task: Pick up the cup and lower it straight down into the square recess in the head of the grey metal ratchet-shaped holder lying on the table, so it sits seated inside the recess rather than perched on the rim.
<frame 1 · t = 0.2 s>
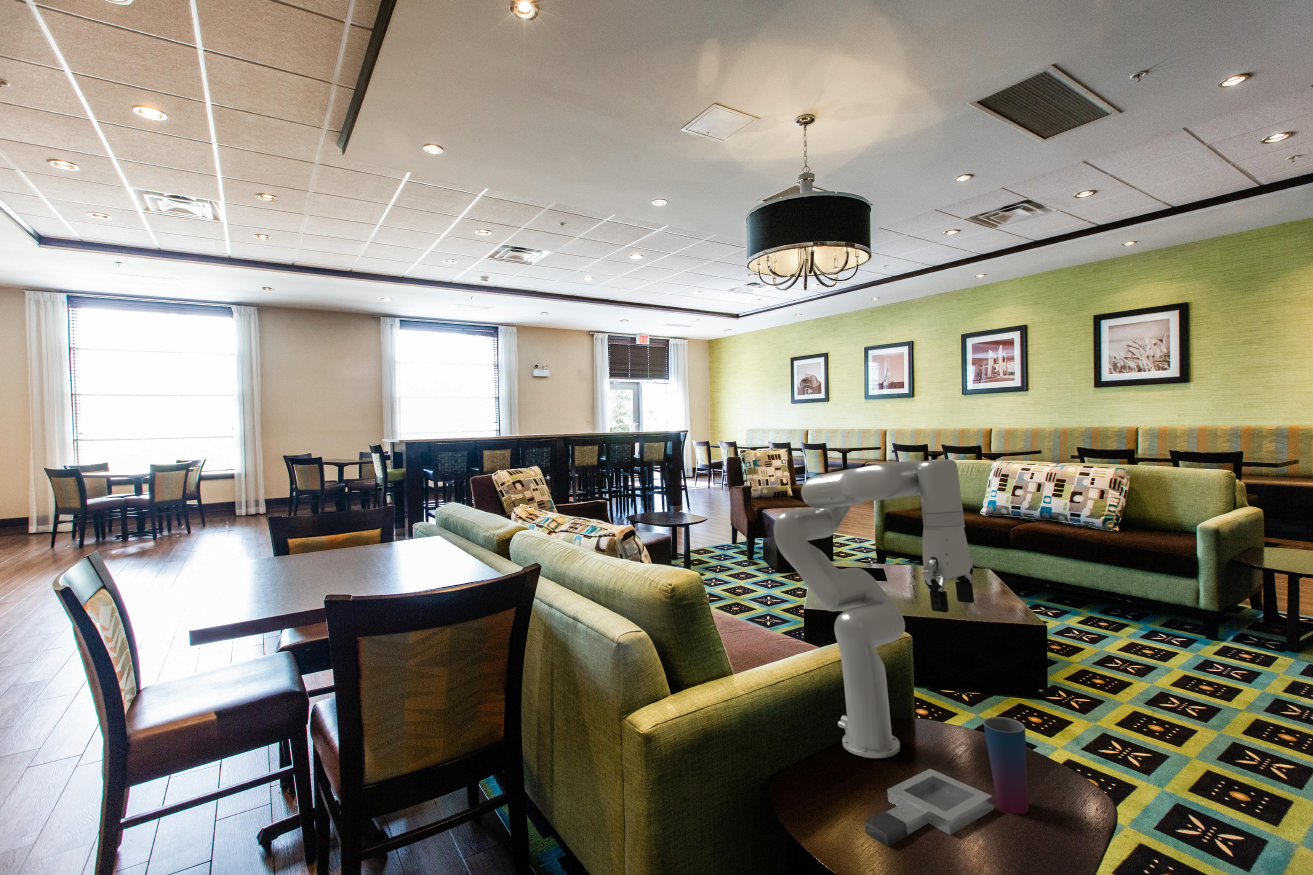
hand: (953, 606, 119), 36 cm above the table, tool pointing down, fingers open, 9 cm apart
holder: (940, 805, 112), on the table
cup: (1012, 807, 110), on the table
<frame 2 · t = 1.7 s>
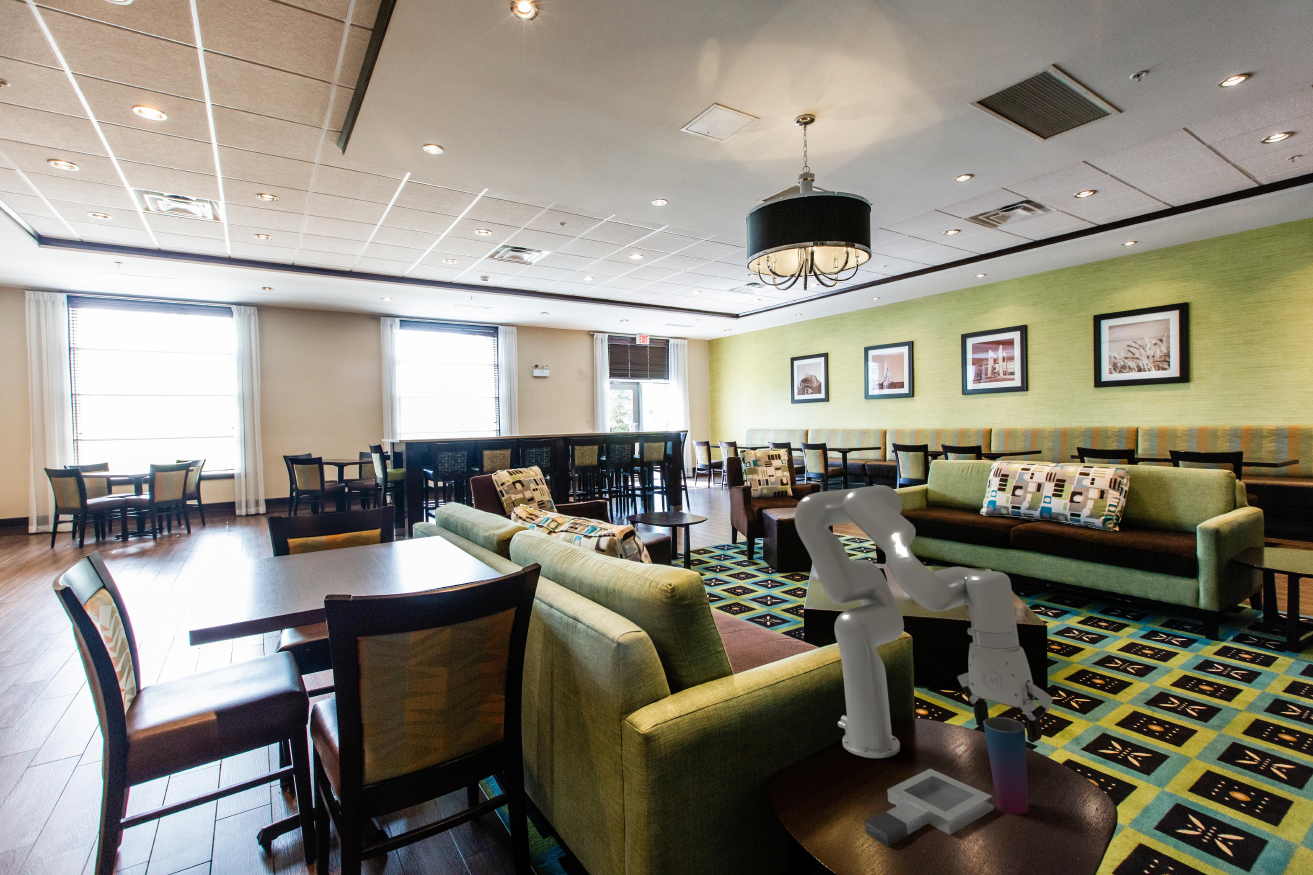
hand: (1008, 731, 111), 14 cm above the table, tool pointing down, fingers open, 9 cm apart
nothing on the table moved.
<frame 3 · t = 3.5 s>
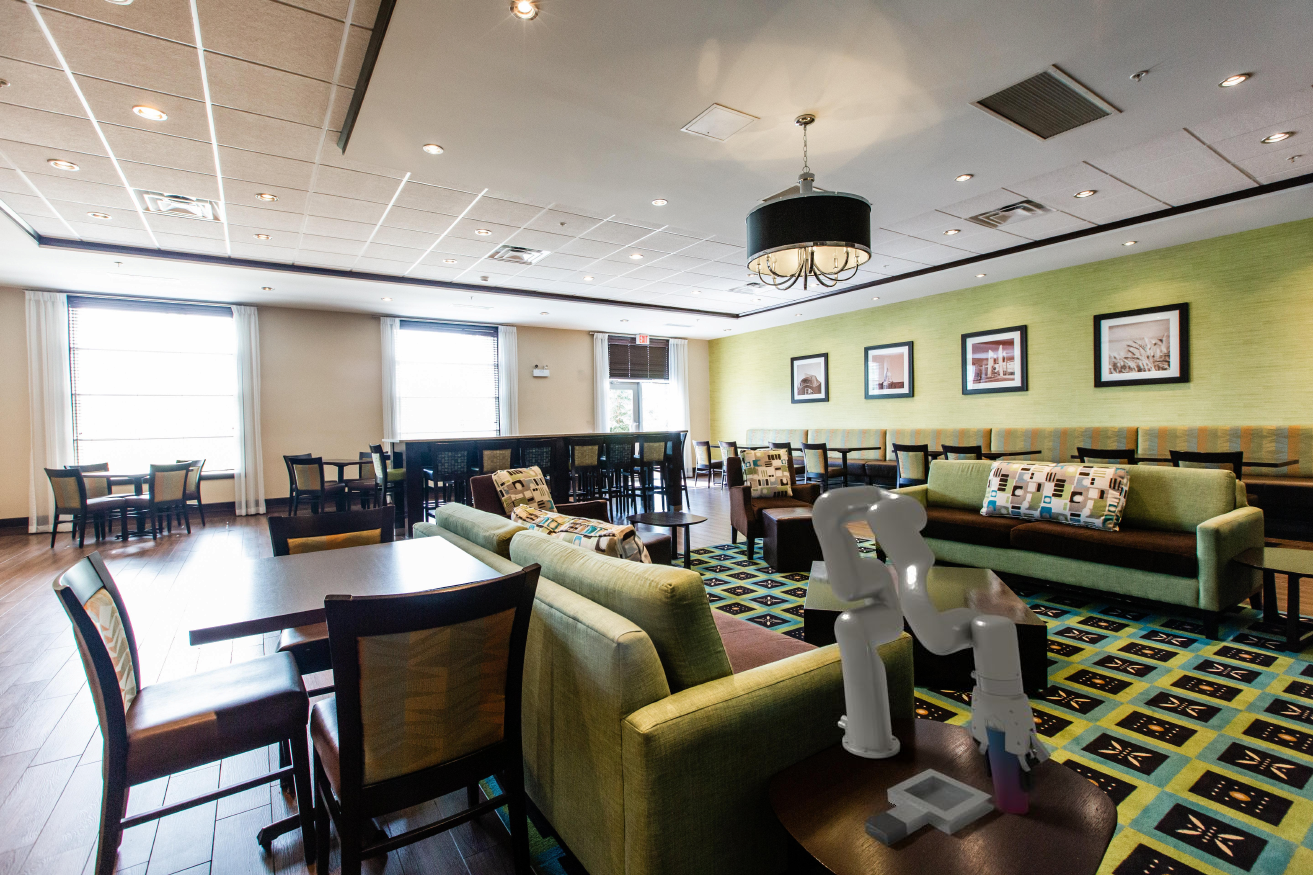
hand: (1010, 781, 111), 5 cm above the table, tool pointing down, fingers closed on cup, 6 cm apart
cup: (1012, 807, 110), on the table, touching gripper
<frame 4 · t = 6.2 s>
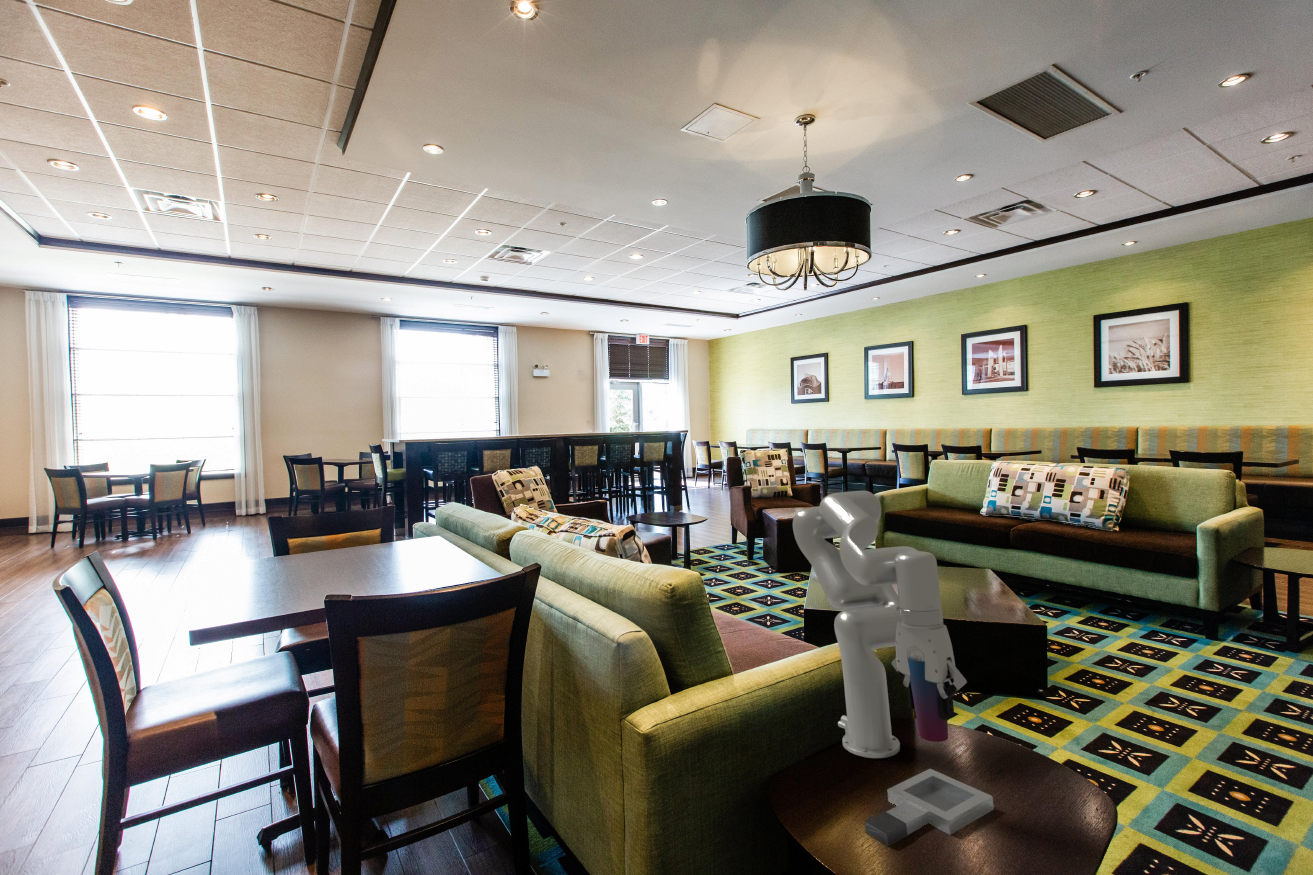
hand: (931, 711, 113), 18 cm above the table, tool pointing down, fingers closed on cup, 6 cm apart
cup: (933, 736, 113), point 13 cm above the table, touching gripper
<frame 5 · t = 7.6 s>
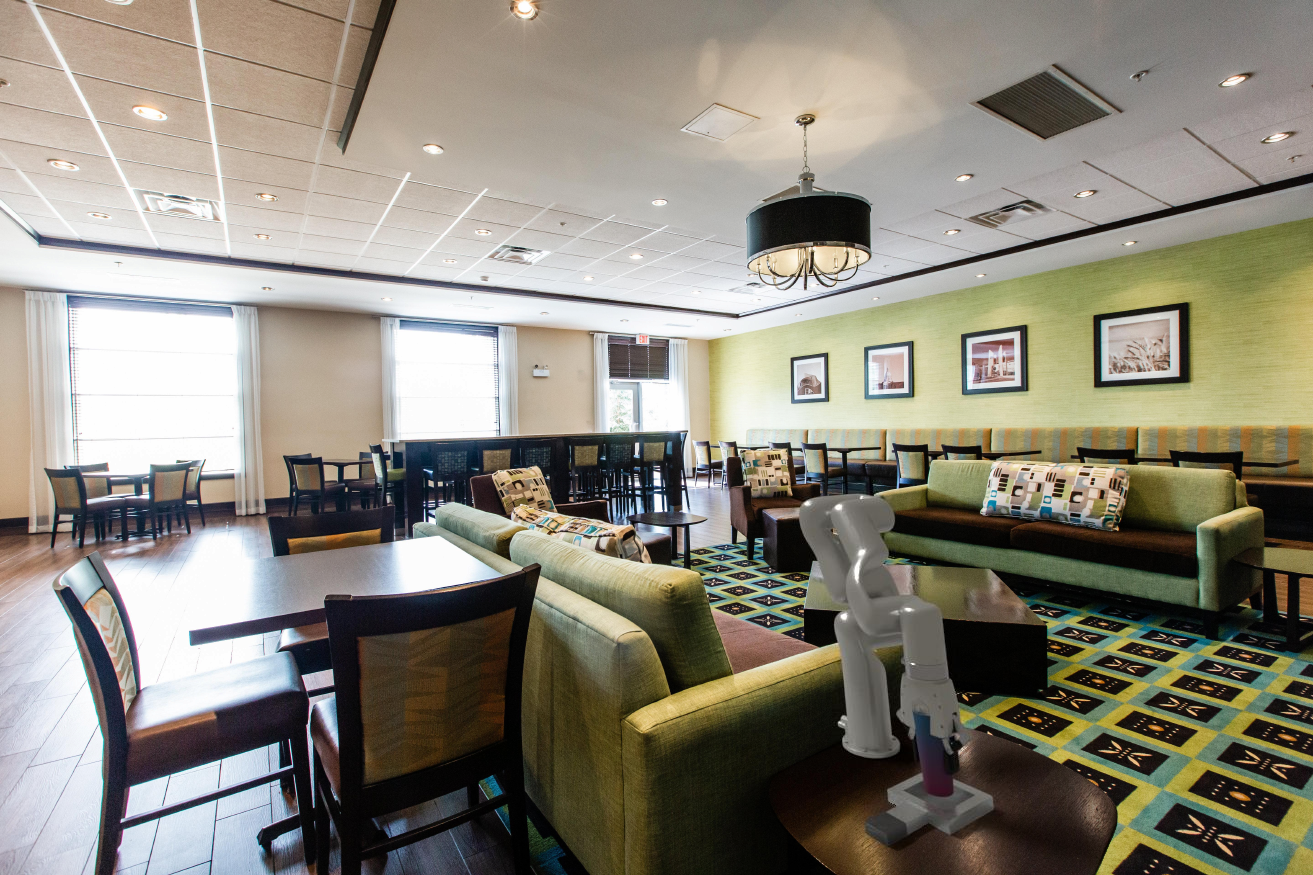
hand: (936, 764, 113), 8 cm above the table, tool pointing down, fingers closed on cup, 6 cm apart
cup: (939, 791, 112), point 3 cm above the table, touching gripper
when the fingers open (5 cm above the table, at t = 8.8 s): cup stays where it is, resting on holder.
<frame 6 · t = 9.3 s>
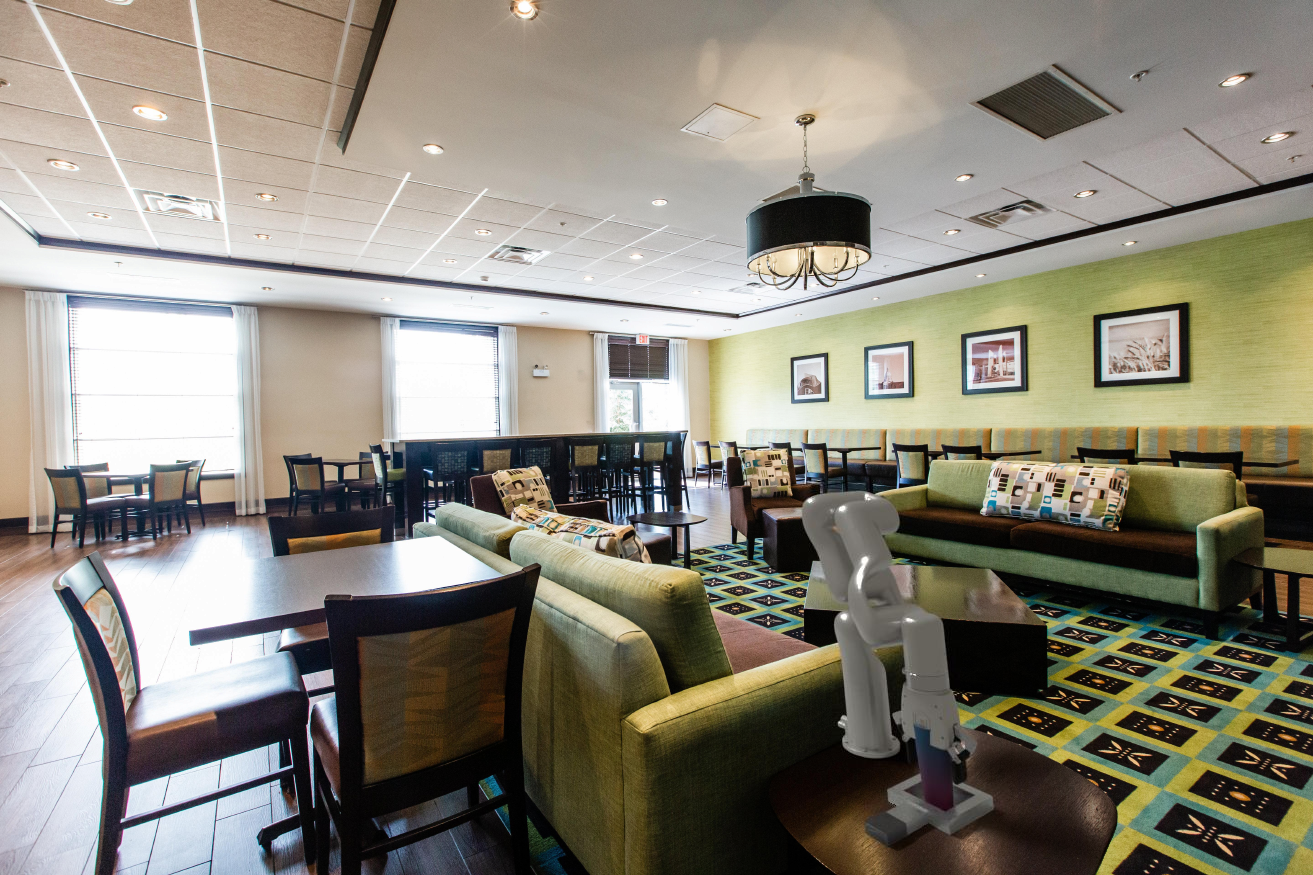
hand: (936, 771, 113), 6 cm above the table, tool pointing down, fingers open, 9 cm apart
cup: (939, 803, 113), resting on holder
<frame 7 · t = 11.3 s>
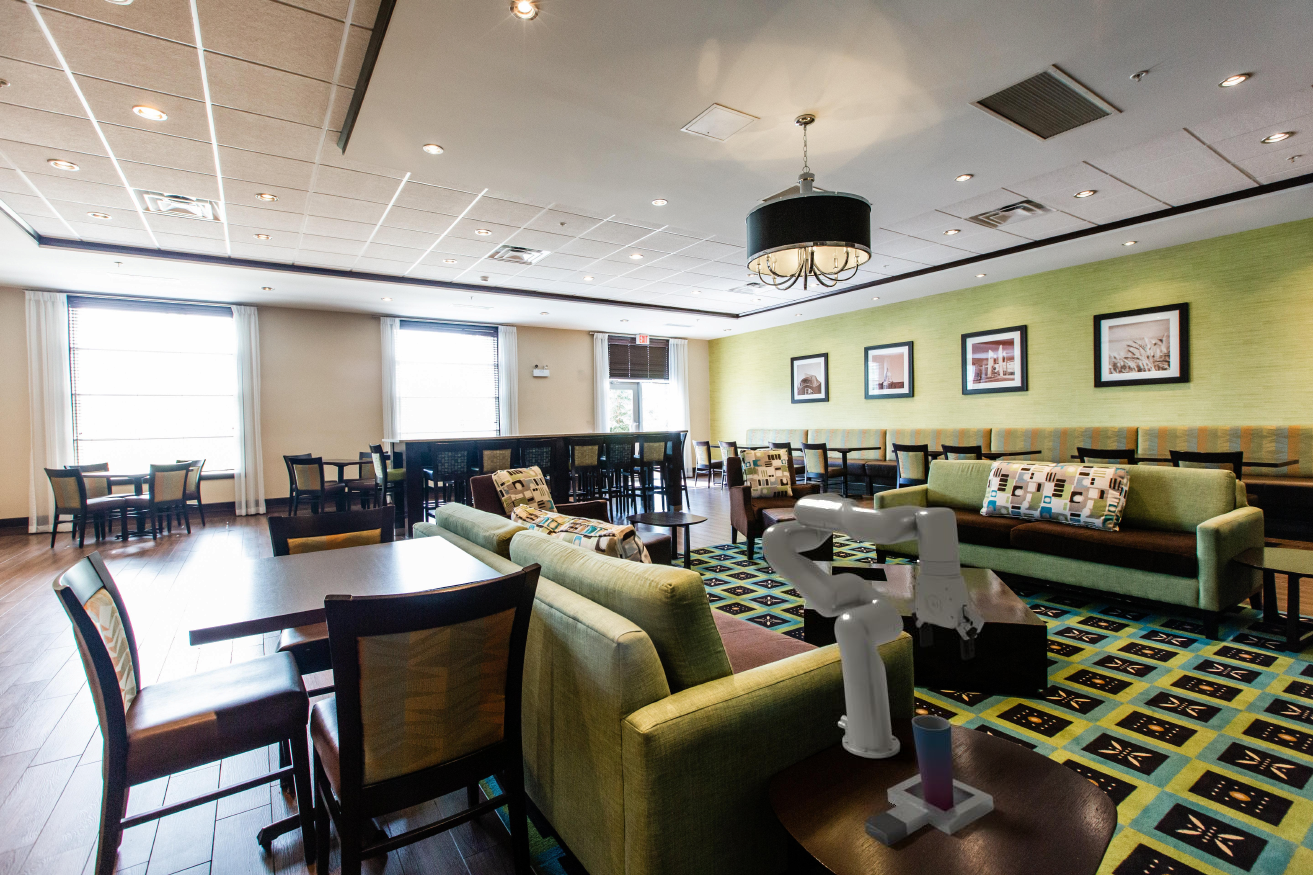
hand: (946, 651, 122), 26 cm above the table, tool pointing down, fingers open, 9 cm apart
nothing on the table moved.
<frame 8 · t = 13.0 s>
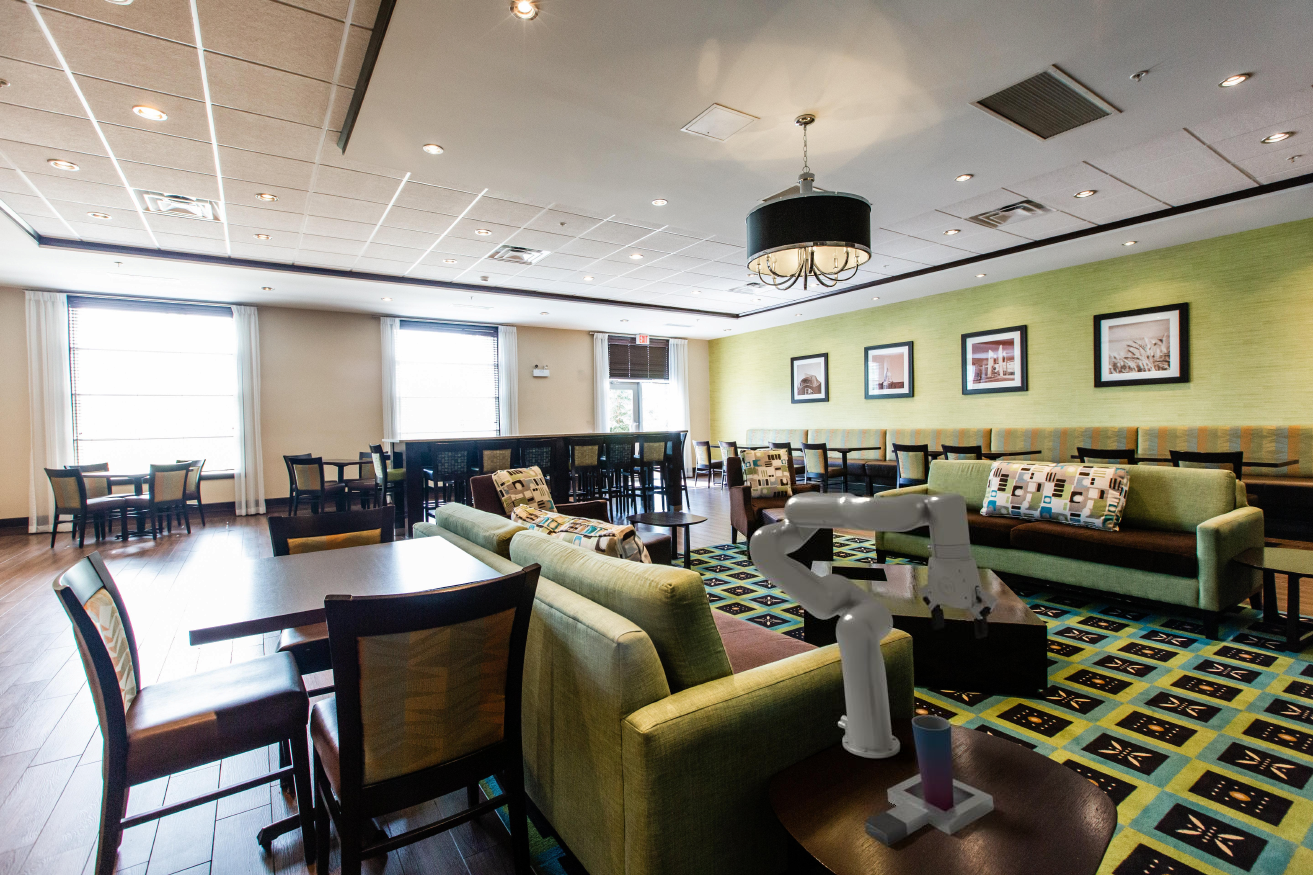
hand: (959, 632, 126), 28 cm above the table, tool pointing down, fingers open, 9 cm apart
nothing on the table moved.
at the end: cup 0.2 cm off-centre on the holder, point 0.2 cm above the holder's base; cup tilted 0°; the gripper is holding nothing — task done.
